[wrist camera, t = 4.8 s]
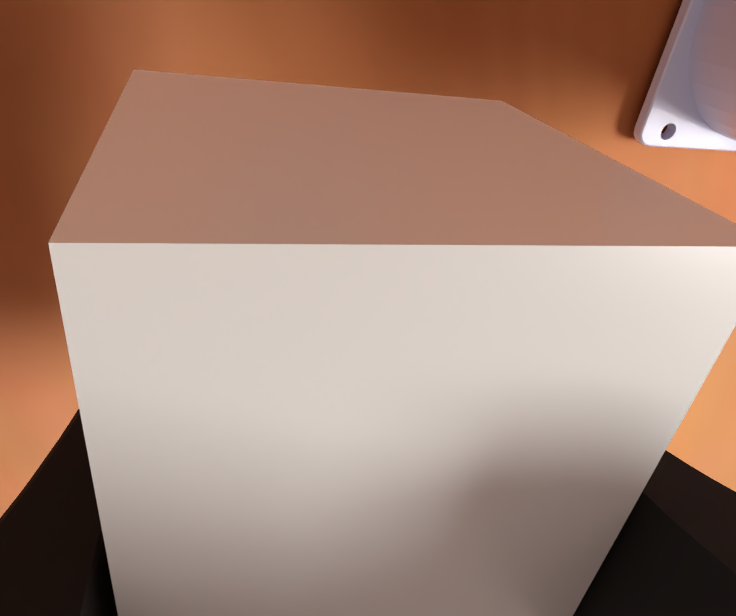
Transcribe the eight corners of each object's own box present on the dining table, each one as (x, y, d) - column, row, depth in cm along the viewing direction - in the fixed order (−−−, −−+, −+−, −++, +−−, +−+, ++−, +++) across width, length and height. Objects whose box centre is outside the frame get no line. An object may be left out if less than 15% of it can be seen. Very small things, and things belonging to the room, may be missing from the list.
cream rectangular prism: (501, 100, 9) (780, 246, 5) (406, 495, 14) (501, 744, 10) (133, 68, 8) (47, 242, 3) (172, 525, 13) (159, 836, 8)
